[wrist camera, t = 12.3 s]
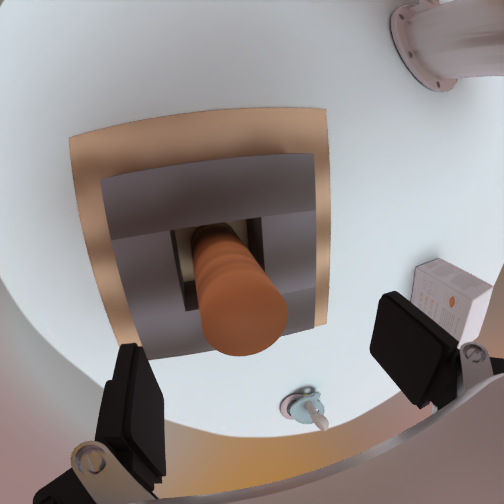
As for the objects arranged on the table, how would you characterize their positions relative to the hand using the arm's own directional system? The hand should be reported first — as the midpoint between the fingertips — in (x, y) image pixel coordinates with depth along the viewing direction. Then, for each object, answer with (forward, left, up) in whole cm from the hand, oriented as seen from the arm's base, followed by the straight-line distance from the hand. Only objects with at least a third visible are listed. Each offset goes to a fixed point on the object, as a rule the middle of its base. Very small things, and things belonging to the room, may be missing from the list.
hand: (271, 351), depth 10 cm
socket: (0, -1, -16) cm, 16 cm away
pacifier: (+26, +8, -16) cm, 32 cm away
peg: (0, 0, -15) cm, 15 cm away
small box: (+11, +27, -16) cm, 34 cm away
